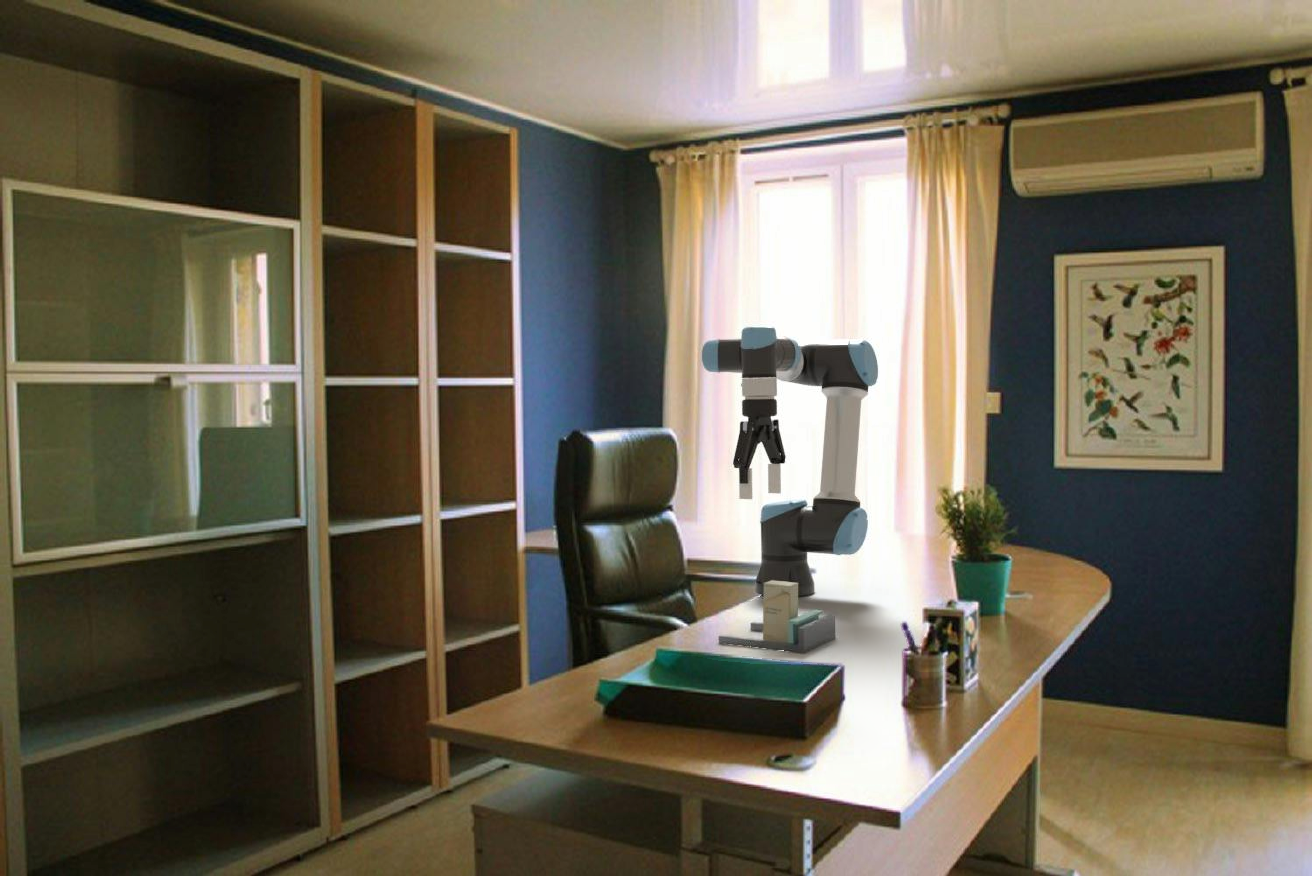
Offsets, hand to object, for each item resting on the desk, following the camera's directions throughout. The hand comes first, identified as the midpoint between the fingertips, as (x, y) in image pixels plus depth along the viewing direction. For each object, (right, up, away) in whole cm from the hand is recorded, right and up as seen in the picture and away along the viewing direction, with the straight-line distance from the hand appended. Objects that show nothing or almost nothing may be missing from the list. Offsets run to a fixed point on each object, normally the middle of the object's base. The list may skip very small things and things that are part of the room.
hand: (760, 496), depth 244 cm
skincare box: (+3, -30, -12) cm, 32 cm away
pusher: (+7, -29, -15) cm, 34 cm away
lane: (+2, -29, -11) cm, 31 cm away
